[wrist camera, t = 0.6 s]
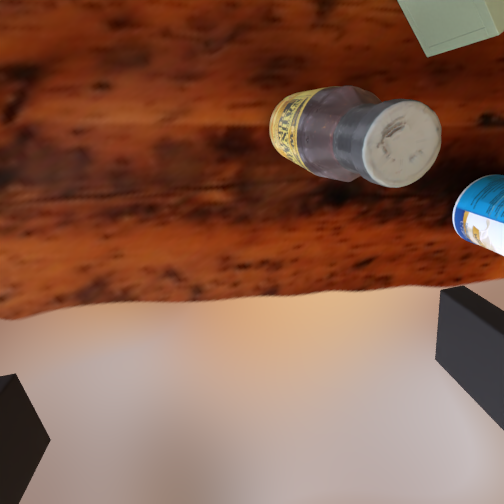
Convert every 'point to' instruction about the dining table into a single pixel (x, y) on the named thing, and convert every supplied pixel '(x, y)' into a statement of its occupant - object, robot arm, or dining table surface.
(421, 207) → the dining table surface
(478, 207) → the beverage bottle
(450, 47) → the cabinet
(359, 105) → the sauce bottle
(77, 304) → the dining table surface
